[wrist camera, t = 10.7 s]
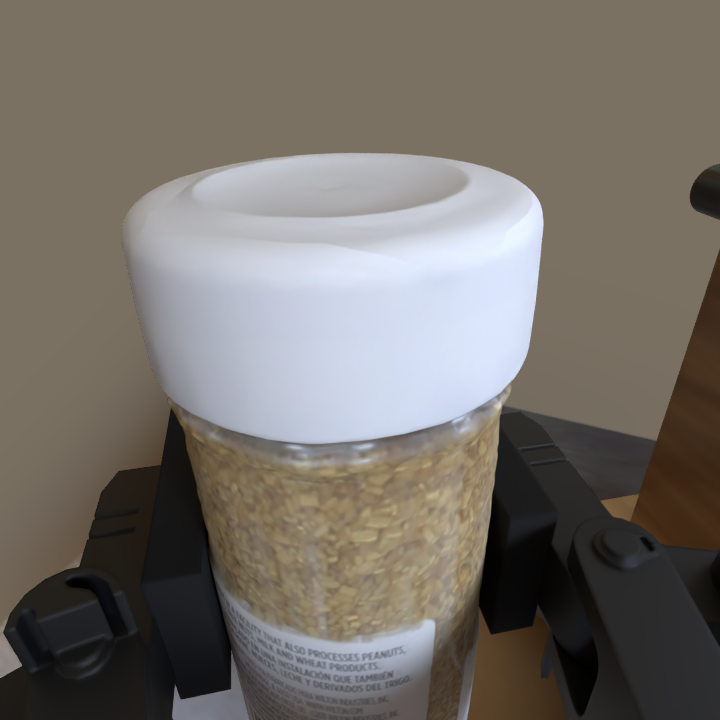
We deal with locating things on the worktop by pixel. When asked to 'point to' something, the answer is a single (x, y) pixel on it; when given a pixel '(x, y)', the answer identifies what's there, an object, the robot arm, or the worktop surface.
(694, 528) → the wooden stand with handle
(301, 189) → the spice jar
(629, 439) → the worktop surface
